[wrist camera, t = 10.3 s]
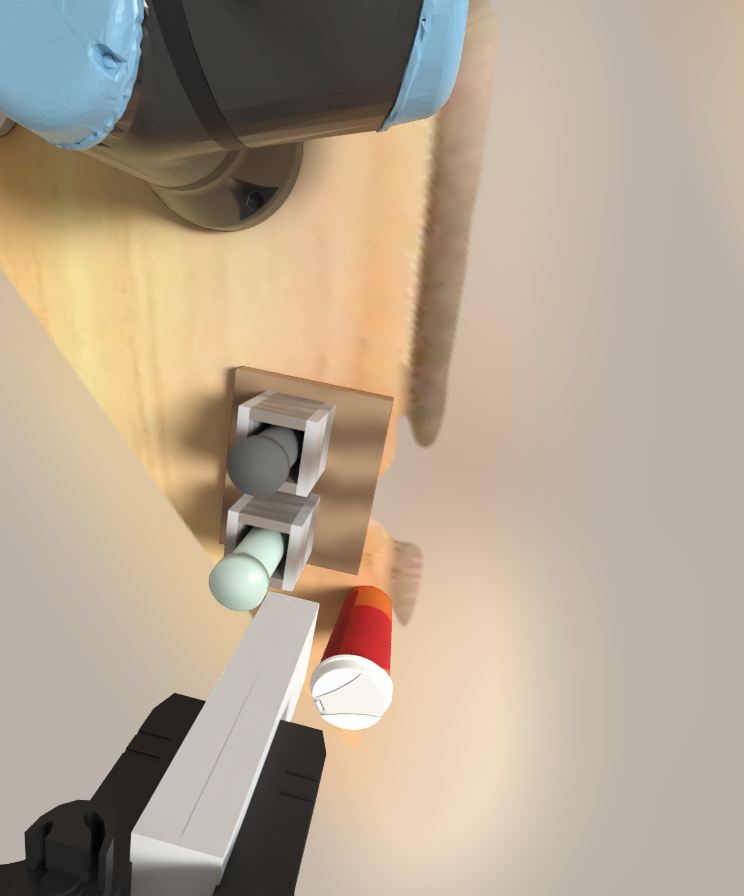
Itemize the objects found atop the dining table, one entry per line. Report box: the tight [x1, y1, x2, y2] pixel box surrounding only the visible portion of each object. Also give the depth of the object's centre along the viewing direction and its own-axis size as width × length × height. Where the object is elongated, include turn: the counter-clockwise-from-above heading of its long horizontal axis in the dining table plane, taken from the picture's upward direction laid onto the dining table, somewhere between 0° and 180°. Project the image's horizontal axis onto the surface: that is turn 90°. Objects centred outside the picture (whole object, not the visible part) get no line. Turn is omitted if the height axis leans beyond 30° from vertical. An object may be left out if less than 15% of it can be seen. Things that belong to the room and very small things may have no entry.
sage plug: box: [209, 526, 290, 611], centre depth 44 cm, size 5×5×11 cm
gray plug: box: [227, 424, 305, 497], centre depth 43 cm, size 5×5×11 cm
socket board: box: [219, 366, 394, 592], centre depth 47 cm, size 20×16×10 cm
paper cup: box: [310, 586, 393, 730], centre depth 49 cm, size 8×8×14 cm
